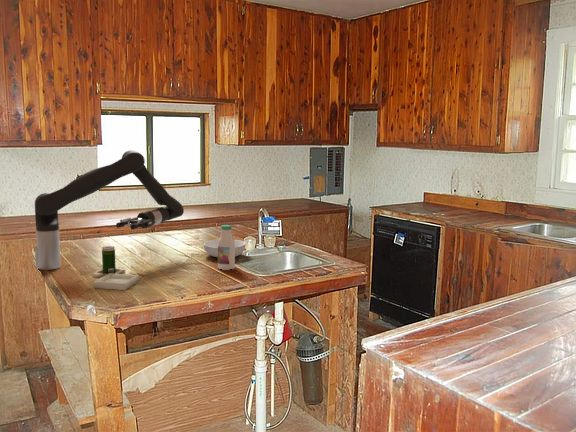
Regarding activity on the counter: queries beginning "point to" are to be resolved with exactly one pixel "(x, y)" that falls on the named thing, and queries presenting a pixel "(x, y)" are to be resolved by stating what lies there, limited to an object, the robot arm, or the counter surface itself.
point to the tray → (116, 281)
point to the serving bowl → (212, 247)
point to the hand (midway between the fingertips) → (123, 226)
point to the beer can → (108, 260)
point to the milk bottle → (226, 249)
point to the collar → (99, 274)
